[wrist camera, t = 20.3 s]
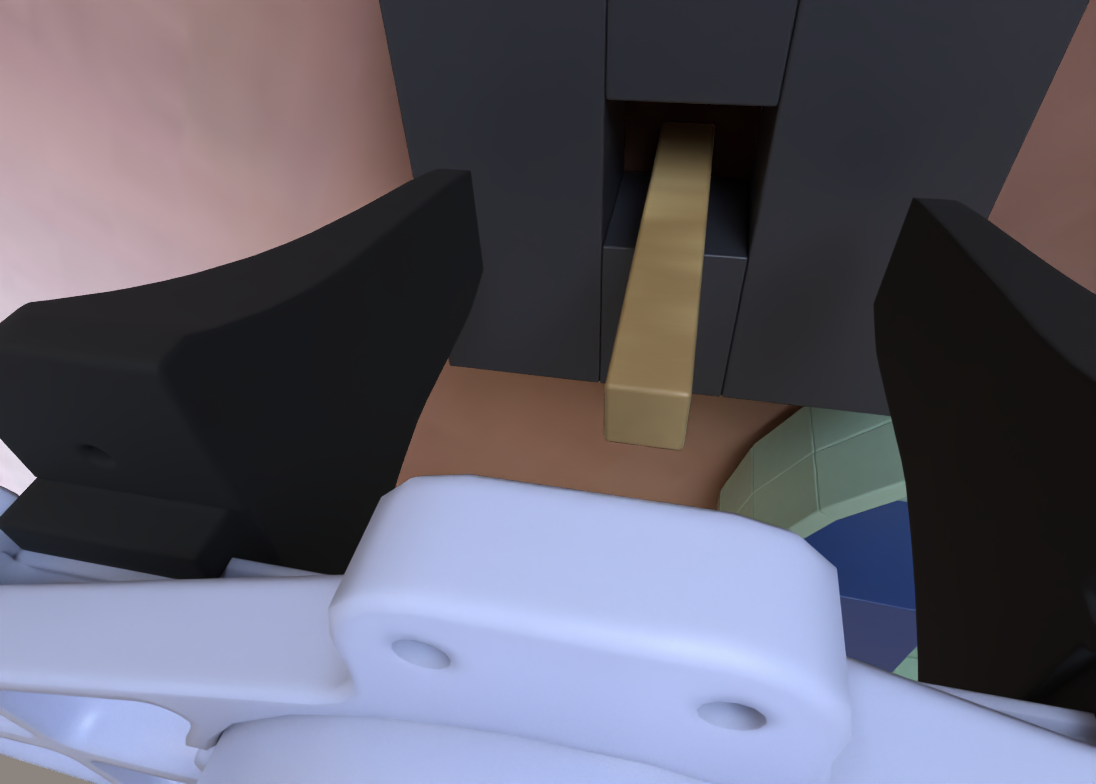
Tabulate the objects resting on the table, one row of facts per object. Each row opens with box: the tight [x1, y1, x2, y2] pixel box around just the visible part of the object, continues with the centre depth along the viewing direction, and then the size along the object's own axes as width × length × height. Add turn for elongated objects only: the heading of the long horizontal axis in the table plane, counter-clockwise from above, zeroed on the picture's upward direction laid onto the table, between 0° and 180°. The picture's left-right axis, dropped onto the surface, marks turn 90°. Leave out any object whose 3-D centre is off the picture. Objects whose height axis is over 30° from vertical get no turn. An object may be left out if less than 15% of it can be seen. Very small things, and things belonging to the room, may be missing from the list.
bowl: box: [716, 406, 918, 681], centre depth 21 cm, size 19×19×4 cm
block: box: [804, 501, 917, 672], centre depth 22 cm, size 4×4×4 cm
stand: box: [379, 0, 1089, 416], centre depth 14 cm, size 11×11×4 cm
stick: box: [603, 122, 715, 450], centre depth 13 cm, size 1×1×9 cm
